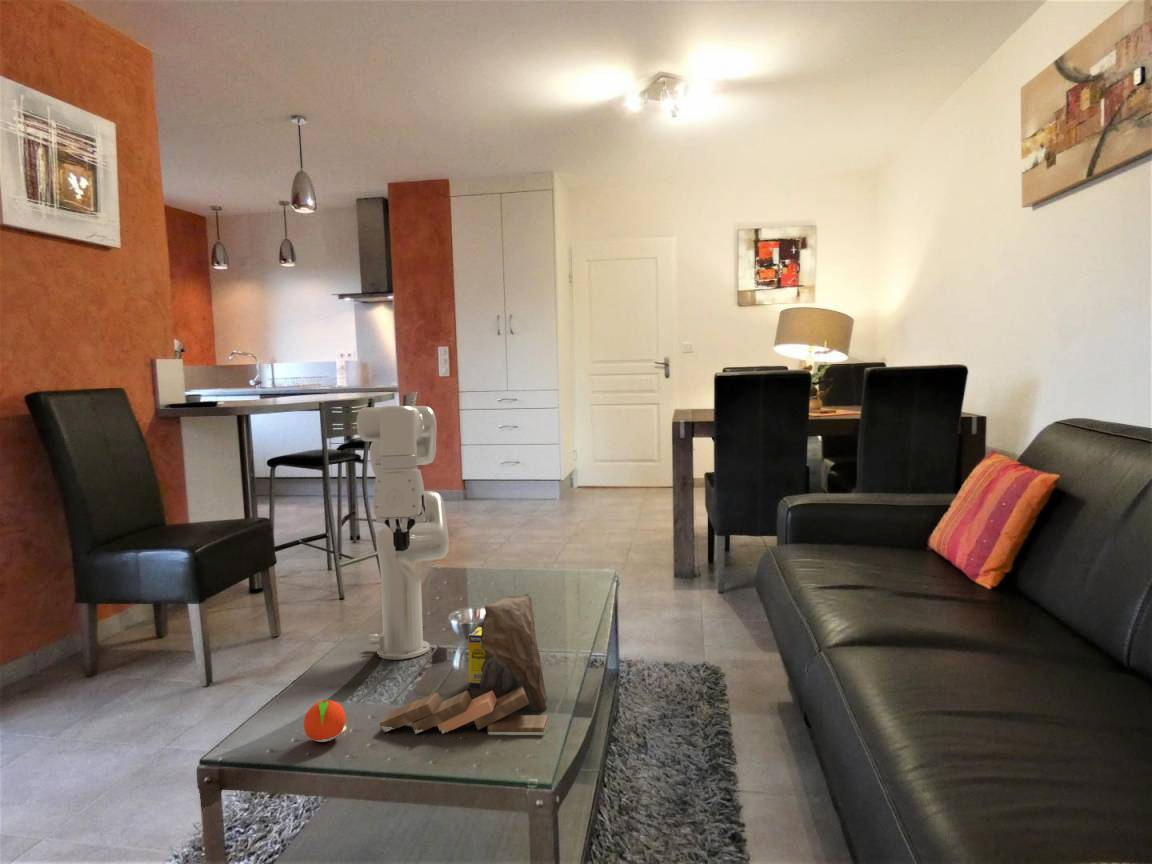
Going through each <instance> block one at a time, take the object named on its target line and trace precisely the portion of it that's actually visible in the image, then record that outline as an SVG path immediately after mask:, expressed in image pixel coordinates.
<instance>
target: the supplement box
mask: <svg viewBox="0 0 1152 864" xmlns="http://www.w3.org/2000/svg"><path fill="white" fill-rule="evenodd" d="M481 635H482V626H481V627H480V626H478V627H477V628H476V629H475V630H473V631H472V632H471V633H469V634H468V636H467V638H468V639H467V641H468V642H467V643H468V644H467V645H468V673H469V675H468V676H469V687H480V688H481V686H480V680H481V677H482V671H481V667H482V666H483V663H484V661H485V652H484V650H483V649H482V639H481Z"/></svg>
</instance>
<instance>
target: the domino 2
mask: <svg viewBox="0 0 1152 864" xmlns="http://www.w3.org/2000/svg"><path fill="white" fill-rule="evenodd" d="M472 700H473V699H472V697H471V695H470V693H469V691H468V690H464V691H463V692H461V693H459V694H456V695H454V696H452V697H450V698H448V699H446V700H443V701H442V703H441V704H440V705H439V707H438V708H437V709H436V710H435V712H434V713H433V714H431V715H429V716H426V717H424V718H421V719H419V720H416V721H414V722H411V723H410V725H411V728H412V730H413V729H415V730H416V729H417V730H421V729H422V730H425V731H426V730H429V729H431V728H433V727H436V726H437V725H438V724H440V723H442V722H444V721H446V720H449V719H451V718H453V717H455V716H457V715H459V714H462V713H464V712H466V710H467V708H468V707H469V705H470V703H471V701H472Z"/></svg>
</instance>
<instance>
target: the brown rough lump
mask: <svg viewBox="0 0 1152 864" xmlns="http://www.w3.org/2000/svg"><path fill="white" fill-rule="evenodd" d="M484 610H485V615H484V617H483V622H482V624H481V627H482V635H481V639H482V649H483V650H484V652H485V661H484V663H483V666H482V667H481V671H482V677H481V680H480V686H481V687H480V689H481V693H482V695H483V694H485V693H488V692H490V691H492V690H493V693H494V695H495V697H496V699H498V698H500V697H502V696H504V695H506V694H508V693H510V692H512V691H514V690H516V689H518V688H520V687H523V689H524V691H525V694H526V696H527V699H528V701H529V704H528V705H526V706H524V707H522V708H520V709H518V710H516V711H514V712H513V713H517V712H518V713H520V712H525V713H526V712H536V711H545V710H548V708H547V703H546V702H547V700H548V699H547V692H546V687H545V686H546V685H545V682H544V675H543V669H542V663H541V662H542V661H541V656H540V651H539V646H538V641H537V636H536V629H535V628H536V627H535V614H534V610H533V604H532V598H531V597H530V596H529V593H525V594H523V595H503V596H502V597H499V598H497V600H495V601H493V602H491V603H487V604H485V606H484Z"/></svg>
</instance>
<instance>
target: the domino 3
mask: <svg viewBox="0 0 1152 864" xmlns="http://www.w3.org/2000/svg"><path fill="white" fill-rule="evenodd" d="M496 701H497V699H496V697H495V695H494V693H493V690H492V691H490V692H488V693H485V694H483V693H482V694H481V695H479V696H476V697H475V698H473V699H472V701H471V703H470V705H469V707H468V708H467V710H466V712H464V713H462V714H459V715H457V716H455V717H453V718H451V719H449V720H446V721H444V722H442V723H440V724H438V725H436V726H437V728H438V730H439V731H440V730H446V731H447V730H451V731H453V730H455V729H458V728H460V727H462V726H464V725H465V724H466V725H467V724H469V723H471V722H474V720H475V719H477V718H479V717H481V716H483V715H486V714H488V713H490V712H492V711H493V708H494V706H495V704H496Z"/></svg>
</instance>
